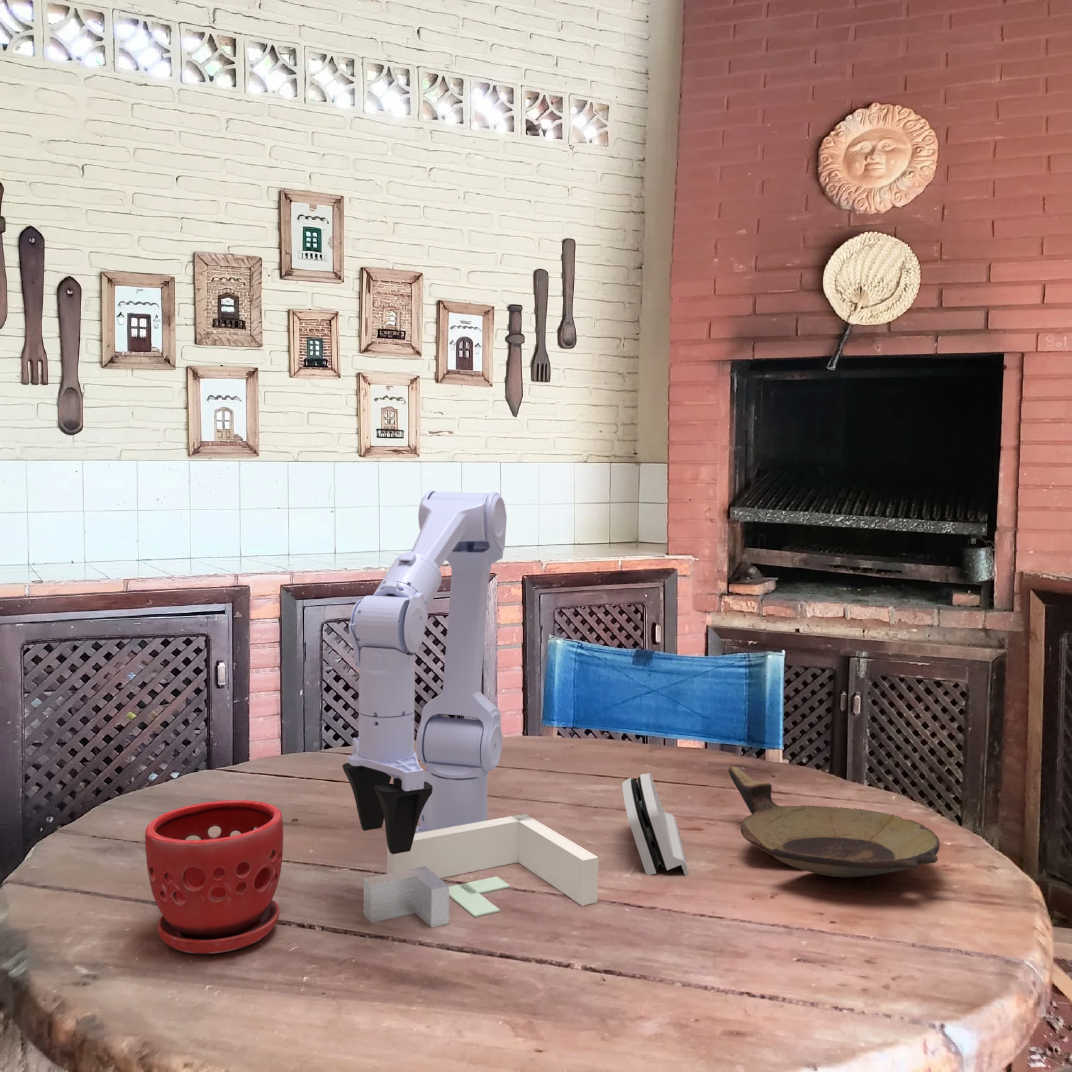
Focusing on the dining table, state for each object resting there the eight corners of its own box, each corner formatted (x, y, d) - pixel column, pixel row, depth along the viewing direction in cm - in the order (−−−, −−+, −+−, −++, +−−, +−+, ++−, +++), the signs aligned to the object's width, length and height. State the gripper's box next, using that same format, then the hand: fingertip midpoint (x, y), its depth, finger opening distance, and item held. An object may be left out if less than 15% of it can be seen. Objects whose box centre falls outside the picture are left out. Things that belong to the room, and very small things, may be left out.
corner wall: (386, 881, 116) (387, 838, 115) (524, 853, 125) (524, 813, 124) (448, 938, 102) (449, 889, 101) (597, 902, 111) (598, 857, 111)
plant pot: (275, 899, 110) (275, 791, 110) (290, 954, 98) (290, 832, 97) (146, 915, 106) (145, 802, 105) (144, 975, 93) (144, 847, 93)
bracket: (385, 938, 102) (385, 899, 101) (363, 915, 107) (363, 878, 106) (448, 923, 105) (449, 885, 105) (424, 902, 110) (425, 866, 110)
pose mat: (441, 889, 114) (441, 888, 114) (496, 878, 117) (496, 876, 117) (474, 917, 107) (474, 915, 107) (532, 903, 110) (532, 902, 110)
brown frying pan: (796, 918, 108) (798, 847, 108) (697, 822, 138) (699, 766, 137) (984, 904, 112) (987, 836, 112) (849, 814, 142) (851, 760, 141)
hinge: (689, 876, 119) (662, 796, 118) (650, 888, 119) (623, 808, 118) (678, 827, 135) (654, 756, 135) (644, 837, 136) (620, 767, 135)
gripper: (326, 700, 110) (325, 824, 111) (376, 731, 97) (375, 870, 98) (387, 694, 113) (386, 814, 114) (443, 723, 101) (441, 857, 102)
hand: (385, 839), depth 106 cm, fingers open, 7 cm apart
